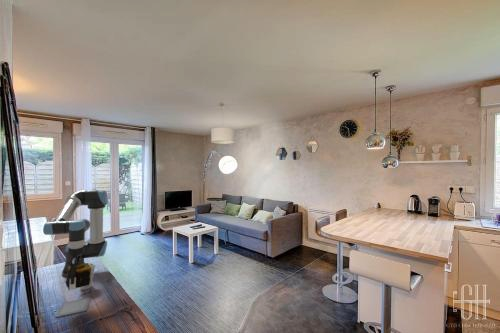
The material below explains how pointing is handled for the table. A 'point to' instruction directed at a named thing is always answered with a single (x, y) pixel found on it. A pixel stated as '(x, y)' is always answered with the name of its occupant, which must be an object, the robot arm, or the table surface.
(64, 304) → the coaster
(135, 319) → the table surface
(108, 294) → the table surface
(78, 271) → the candle
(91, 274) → the coffee cup
